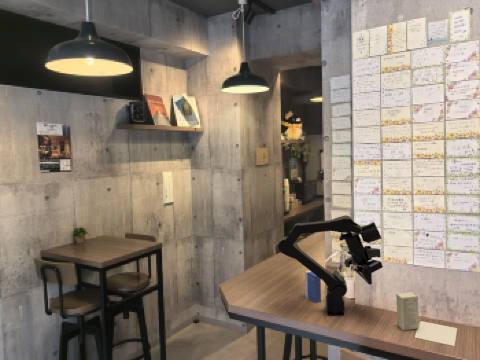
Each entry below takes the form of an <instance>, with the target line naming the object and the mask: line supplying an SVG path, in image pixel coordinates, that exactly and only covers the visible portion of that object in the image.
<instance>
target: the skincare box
mask: <svg viewBox="0 0 480 360" xmlns="http://www.w3.org/2000/svg"><path fill="white" fill-rule="evenodd" d="M395 296H396V297H395V299H396V314H397V315H396V317H397V318H396V319H397V326H398V327H399V328H400V329H401V330H403V331H405V330H407V331H408V330H417V329H418V328H419V324H420V319H419V317H420V316H419V297H418V296H419V295H417V294H416V293H414V292H413V291H407V292H406V291H405V292H397V293H396V294H395Z"/></svg>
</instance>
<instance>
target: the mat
mask: <svg viewBox="0 0 480 360" xmlns="http://www.w3.org/2000/svg"><path fill="white" fill-rule="evenodd" d="M415 332H416V333H415V336H414V338H415V339H419V340H424V341H428V342H432V343H436V344H441V345H446V346H450V347H455V346H456V339H457V333H458V327H452V326H447V325H443V324H438V323H432V322H427V321H422V320H419V328H418V329H416V331H415Z"/></svg>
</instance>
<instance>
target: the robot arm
mask: <svg viewBox="0 0 480 360" xmlns="http://www.w3.org/2000/svg"><path fill="white" fill-rule="evenodd" d="M323 232H325V233H326V232H335V233H340V235H339V237H338V240H339V241H340V242H342V241H345V245H346V247H347V249H348V251H347V254H348V255H350V257H348V258H346V259H344V263H343V264H344V266H345V268H350V267H351V265H352V266H353V267H354V268H353V269H352V270H353V271H354V272H355V273H356V274H357V275H358V276H359V277H361V278H362V280H364V281H365V282H366V283H367V284H368V285H369V286H370V285H372V283H373V280H372V278H373V277H372V275H373V273H374V272H377V271H379V270H380V269H382V268H384V265H383V262H382V261H380V260H376V259H374V258H381V257H382V254H381V253H382V252H381V248H375V247H372V246H371V245H363V243H364V242H365V243H367V244H370V243H372V242H376V241H379V240H382V236H381V234H380V233H381V232H380V231H379V229H378V227H377V225H376V223H375V222H374V221H373V222H371V223H368V224H366V225H362V226H361V225H360V224H359V223H357V222H355V221H354V219H353V218H352V217H351V216H349V215H347V214H345V215H341V216H338V217H336V218H333V219H330V220H321V221H312V222H311V221H310V222H297V223H296V224H295V225H294V226H293V227H292V229H291V230H290V231H289V232H288V233H287V235H286V236H283V237H281V238H280V240H279V243H278V245H277V248H278V250H279V252H280V253H281V254H283V255H284V256H286V257H288V258H292V259H295V260H296V261H297V262H298V263H300V264H301V265H302V266H304V267H305V268H306V269H307V270H308V271H309V270H310V271H311V272H313V273H314V274H315V275H316V276H318V277H319V278H320V279H321V281H322V282H323V283H324V284H325V285H326V286H327V288H326V295H325V307H324V308H325V312H326V314H327V316H345V313H344V312H345V311H346V310H345V306H346V305H345V300H344V298H343V297H344V296H345V295H346V294H347V293H348V286H347V280H346V279H345V276H344V275H341V274H340V273H339V272H338V271H337V270H335V272H330V271H329V270H327V269H326V268H325V267H324V266H322V265H321V264H320V263H319V262H317V261H316V260H315V259H314V258H313V257H311V256H309V255H308V254H307V253H306V252H305V251H303V250H302V249H301V248H300V246H299V245H298V243H297V240H298V239H299V237H300V236H301V235H303V234H304V235H305V234H313V233H315V234H316V233H323ZM360 236H361V237H360ZM361 238H362V239H361ZM362 241H363V242H362Z"/></svg>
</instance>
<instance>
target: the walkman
mask: <svg viewBox="0 0 480 360" xmlns="http://www.w3.org/2000/svg"><path fill="white" fill-rule="evenodd" d="M321 282H322V280H321V279H320V278H319V277H318V276H316V275H315V274H314V273H313V272H311V271H310V270H309V269H308V270H304V290H305V291H304V297H305V298H306V299H308V300H310V301H312V302H313V303H315V304H316V303H321V302H322V287H321V286H322V283H321Z"/></svg>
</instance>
